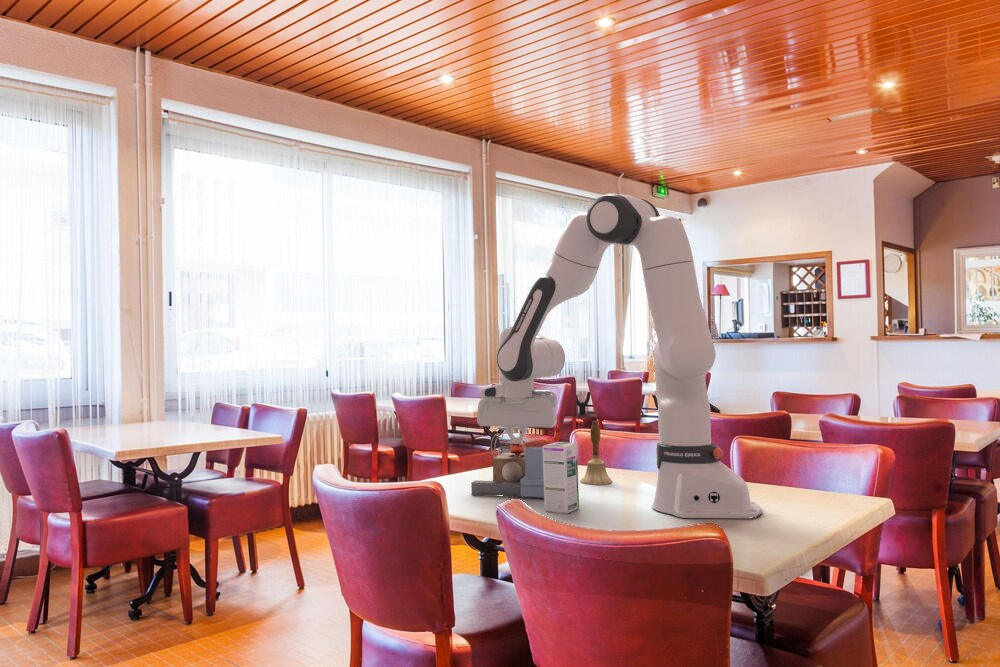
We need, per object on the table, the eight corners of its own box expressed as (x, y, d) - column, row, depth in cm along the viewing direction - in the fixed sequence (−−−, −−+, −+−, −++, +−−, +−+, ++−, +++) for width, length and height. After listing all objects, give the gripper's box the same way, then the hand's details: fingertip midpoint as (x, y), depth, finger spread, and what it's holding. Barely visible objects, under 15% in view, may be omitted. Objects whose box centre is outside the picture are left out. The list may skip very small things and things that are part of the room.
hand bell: (614, 484, 192) (613, 422, 192) (581, 485, 192) (581, 422, 192) (610, 479, 200) (609, 419, 201) (579, 479, 200) (578, 419, 201)
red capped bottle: (526, 475, 191) (525, 444, 191) (522, 477, 188) (522, 445, 188) (513, 475, 192) (512, 443, 192) (509, 477, 189) (509, 445, 189)
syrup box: (567, 514, 159) (566, 445, 159) (543, 511, 162) (542, 444, 163) (579, 509, 164) (578, 442, 164) (555, 506, 167) (554, 441, 167)
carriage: (551, 492, 181) (550, 446, 181) (545, 497, 174) (544, 450, 174) (527, 491, 182) (526, 445, 182) (520, 496, 176) (519, 449, 176)
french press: (538, 477, 204) (536, 385, 205) (504, 482, 198) (502, 387, 198) (515, 472, 212) (514, 384, 213) (482, 477, 205) (481, 386, 206)
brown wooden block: (541, 484, 193) (541, 453, 193) (531, 492, 183) (531, 459, 183) (504, 483, 196) (504, 452, 196) (492, 490, 186) (492, 458, 186)
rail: (559, 496, 178) (559, 483, 178) (556, 498, 175) (556, 485, 175) (475, 492, 184) (475, 480, 184) (471, 495, 181) (471, 482, 181)
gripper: (559, 389, 190) (559, 444, 190) (482, 388, 196) (482, 442, 196) (553, 391, 184) (554, 447, 184) (474, 390, 190) (475, 445, 190)
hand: (516, 444), depth 190 cm, fingers closed, pressing on red capped bottle
